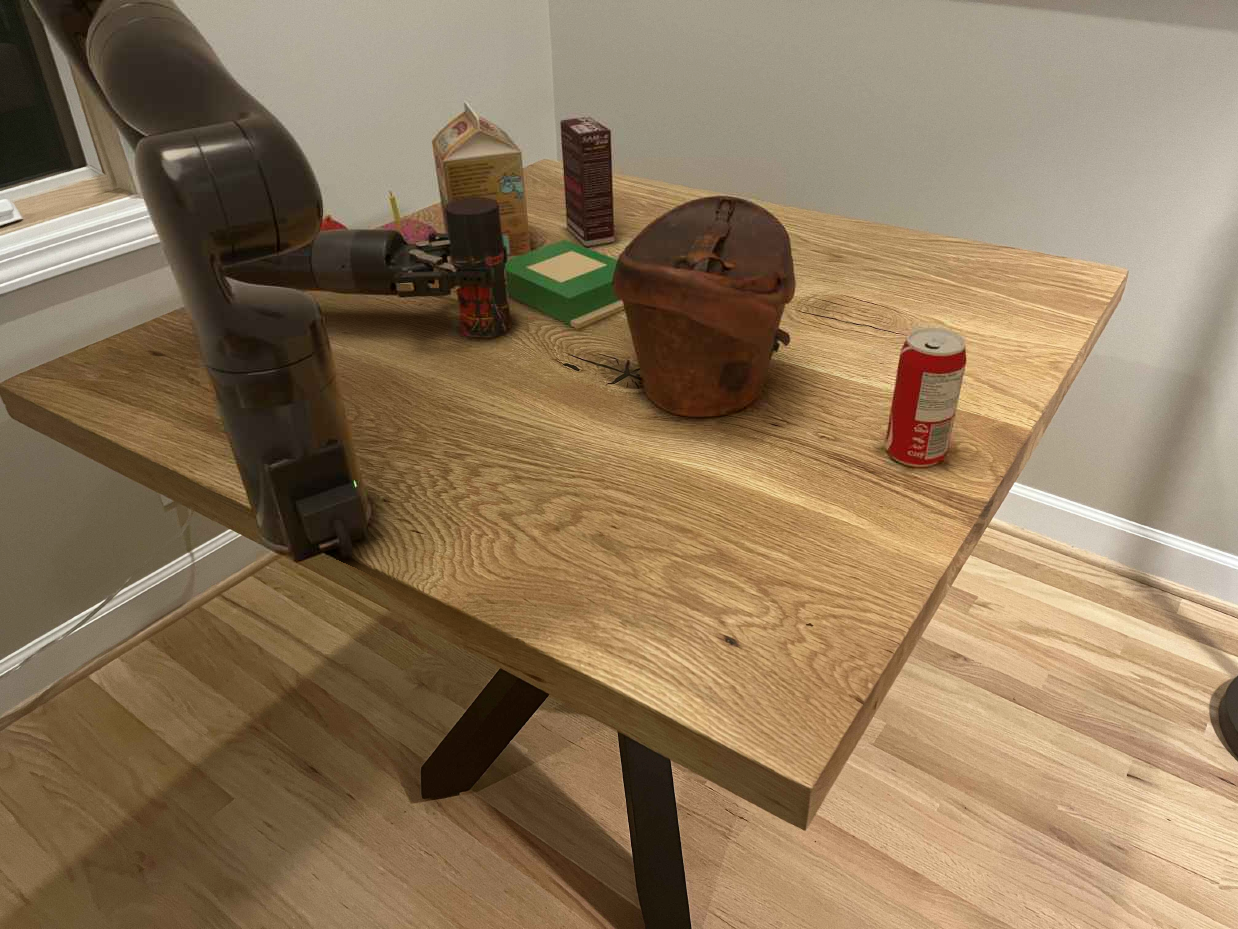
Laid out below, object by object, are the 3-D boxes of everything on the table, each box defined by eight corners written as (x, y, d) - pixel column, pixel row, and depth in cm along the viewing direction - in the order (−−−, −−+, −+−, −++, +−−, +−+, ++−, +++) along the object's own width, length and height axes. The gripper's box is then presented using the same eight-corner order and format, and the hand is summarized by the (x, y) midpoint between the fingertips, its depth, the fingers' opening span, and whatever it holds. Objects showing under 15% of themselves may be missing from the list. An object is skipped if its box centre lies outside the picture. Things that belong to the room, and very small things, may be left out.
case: (648, 454, 85) (645, 276, 75) (596, 360, 101) (588, 202, 91) (822, 422, 89) (841, 248, 79) (745, 336, 105) (753, 182, 95)
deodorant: (456, 323, 110) (438, 202, 102) (502, 313, 112) (488, 193, 104) (470, 342, 106) (453, 217, 97) (518, 332, 108) (505, 208, 99)
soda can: (900, 430, 87) (919, 317, 80) (955, 449, 84) (980, 333, 78) (874, 456, 84) (892, 340, 77) (930, 476, 81) (954, 358, 74)
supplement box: (616, 242, 131) (612, 129, 122) (585, 248, 129) (578, 134, 120) (595, 223, 137) (590, 115, 128) (565, 228, 136) (558, 119, 127)
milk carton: (446, 237, 135) (426, 104, 124) (515, 228, 137) (502, 96, 126) (457, 263, 126) (437, 122, 115) (530, 252, 129) (517, 113, 118)
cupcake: (429, 286, 120) (414, 197, 113) (369, 283, 121) (351, 195, 114) (451, 261, 127) (439, 176, 120) (395, 259, 128) (379, 174, 121)
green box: (649, 298, 114) (649, 271, 112) (577, 329, 108) (575, 300, 106) (560, 262, 125) (558, 236, 123) (490, 287, 119) (487, 261, 117)
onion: (308, 274, 125) (294, 217, 120) (337, 259, 129) (324, 204, 124) (340, 281, 122) (327, 223, 118) (368, 266, 126) (357, 210, 122)
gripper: (330, 254, 98) (480, 258, 96) (376, 210, 110) (511, 212, 108) (344, 317, 102) (488, 322, 100) (387, 268, 114) (516, 271, 112)
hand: (499, 265), depth 104 cm, fingers closed on deodorant, 6 cm apart
